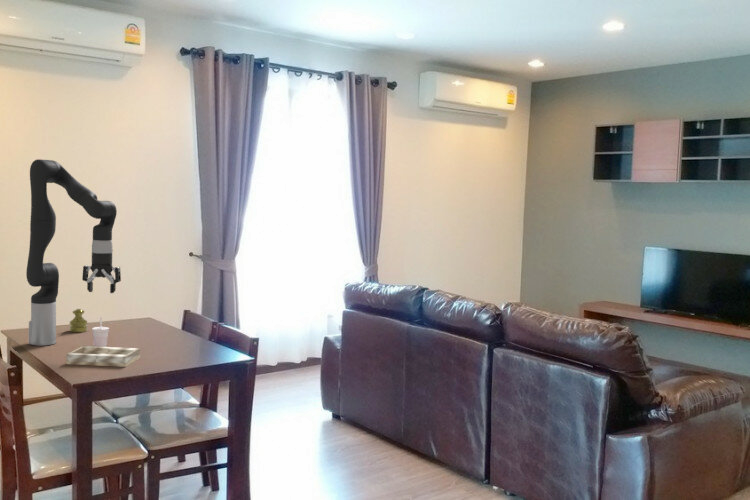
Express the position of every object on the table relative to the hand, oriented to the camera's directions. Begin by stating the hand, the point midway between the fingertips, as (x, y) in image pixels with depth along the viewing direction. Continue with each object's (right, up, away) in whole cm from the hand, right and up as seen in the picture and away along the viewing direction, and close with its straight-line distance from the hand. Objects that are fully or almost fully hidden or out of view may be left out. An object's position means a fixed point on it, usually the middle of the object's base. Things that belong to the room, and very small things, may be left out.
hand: (101, 292), depth 265 cm
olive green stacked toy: (-26, -20, +39) cm, 51 cm away
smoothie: (-1, -24, +2) cm, 24 cm away
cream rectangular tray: (+6, -25, -12) cm, 28 cm away
